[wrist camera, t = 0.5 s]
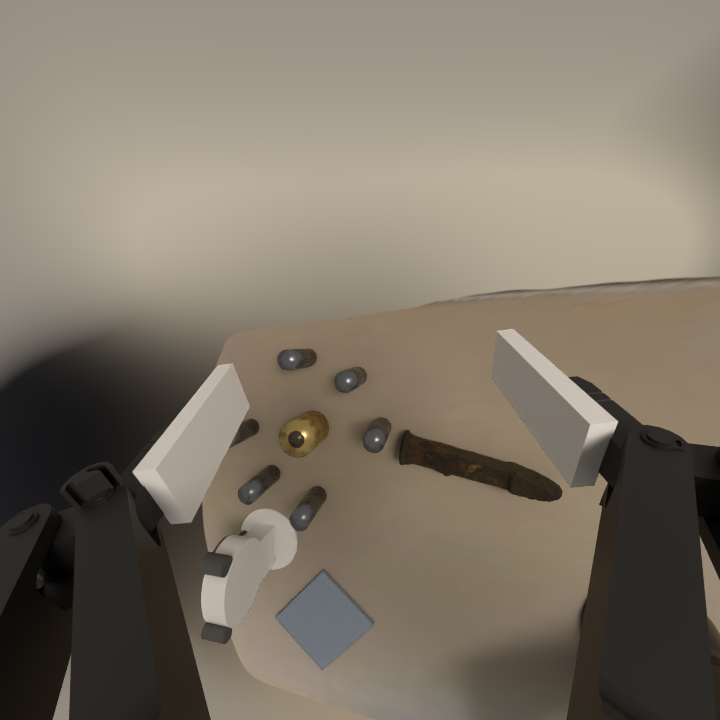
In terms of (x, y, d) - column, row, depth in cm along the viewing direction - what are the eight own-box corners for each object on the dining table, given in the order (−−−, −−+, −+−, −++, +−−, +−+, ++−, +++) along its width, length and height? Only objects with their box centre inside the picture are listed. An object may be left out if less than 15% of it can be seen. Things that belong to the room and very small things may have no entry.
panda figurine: (240, 501, 56) (174, 557, 41) (296, 508, 53) (247, 570, 39) (242, 563, 57) (178, 639, 42) (298, 572, 54) (250, 657, 39)
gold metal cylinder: (335, 426, 51) (320, 439, 44) (315, 449, 52) (297, 465, 45) (311, 404, 52) (293, 413, 45) (292, 426, 53) (272, 439, 46)
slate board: (373, 622, 51) (373, 625, 51) (323, 666, 54) (322, 670, 53) (323, 569, 53) (322, 571, 52) (277, 615, 56) (275, 618, 55)
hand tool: (398, 454, 49) (394, 468, 44) (405, 427, 48) (402, 437, 43) (547, 502, 44) (563, 525, 39) (557, 472, 44) (575, 491, 38)
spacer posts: (409, 411, 48) (405, 424, 40) (307, 519, 53) (286, 549, 45) (320, 329, 51) (300, 327, 43) (230, 440, 56) (198, 456, 48)
